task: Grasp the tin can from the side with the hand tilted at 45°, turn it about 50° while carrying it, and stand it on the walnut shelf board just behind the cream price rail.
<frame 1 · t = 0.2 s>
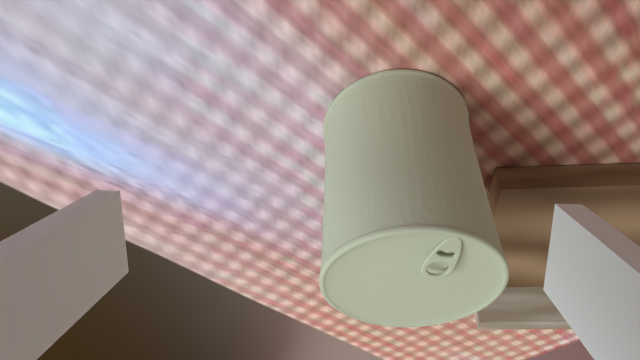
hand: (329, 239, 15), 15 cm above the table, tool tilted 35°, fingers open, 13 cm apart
can: (394, 125, 32), on the table
shelf: (610, 225, 38), on the table
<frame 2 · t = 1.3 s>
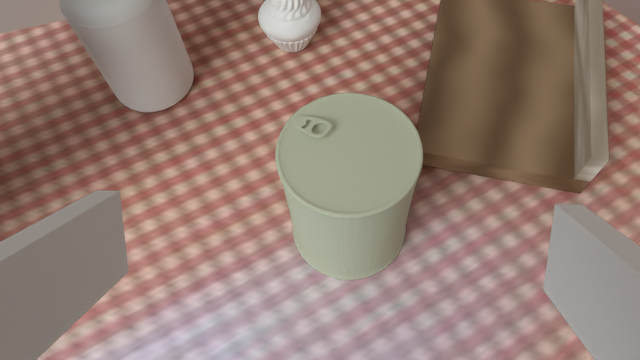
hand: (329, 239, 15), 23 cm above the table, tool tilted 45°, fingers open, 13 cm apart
can: (348, 226, 40), on the table
muffin: (293, 43, 51), on the table
pill bottle: (156, 84, 49), on the table
shelf: (501, 87, 46), on the table
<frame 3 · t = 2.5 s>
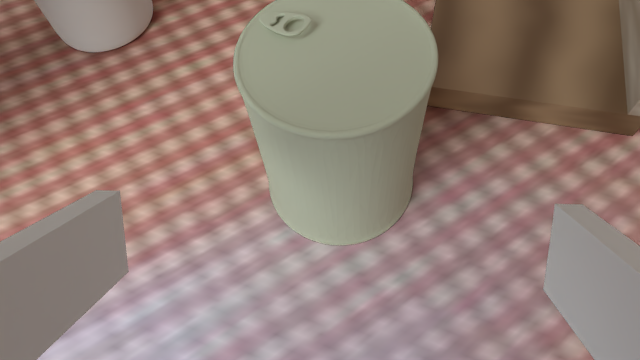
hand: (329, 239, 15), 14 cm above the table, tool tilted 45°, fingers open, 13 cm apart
can: (340, 181, 32), on the table
pill bottle: (109, 21, 41), on the table
shelf: (526, 16, 38), on the table
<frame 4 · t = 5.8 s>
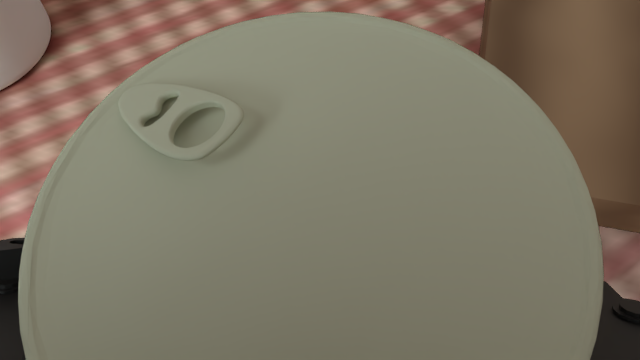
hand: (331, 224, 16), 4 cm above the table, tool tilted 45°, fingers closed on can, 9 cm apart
can: (331, 350, 18), on the table, touching gripper
shelf: (628, 49, 24), on the table
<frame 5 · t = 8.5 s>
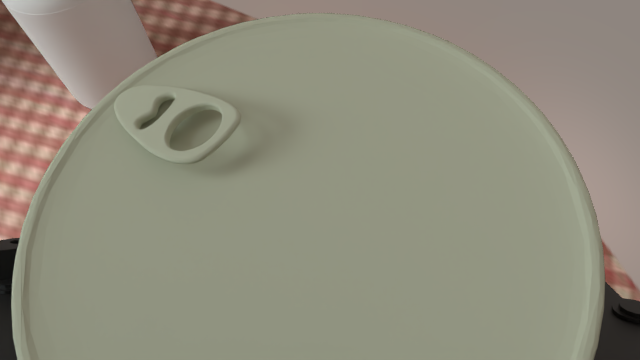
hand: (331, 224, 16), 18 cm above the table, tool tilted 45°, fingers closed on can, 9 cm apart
can: (330, 353, 18), point 14 cm above the table, touching gripper
pill bottle: (119, 80, 44), on the table
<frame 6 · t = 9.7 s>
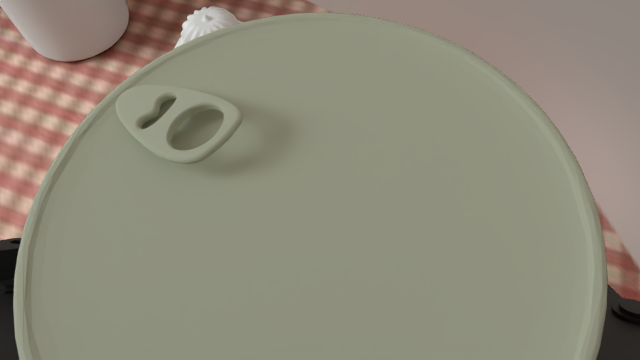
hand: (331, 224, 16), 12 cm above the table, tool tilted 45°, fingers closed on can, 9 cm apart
can: (331, 353, 18), point 8 cm above the table, touching gripper
muffin: (230, 94, 35), on the table
pill bottle: (84, 29, 39), on the table
when the fingers open (7 cm above the table, at t = 11.1 s): can stays where it is, resting on shelf.
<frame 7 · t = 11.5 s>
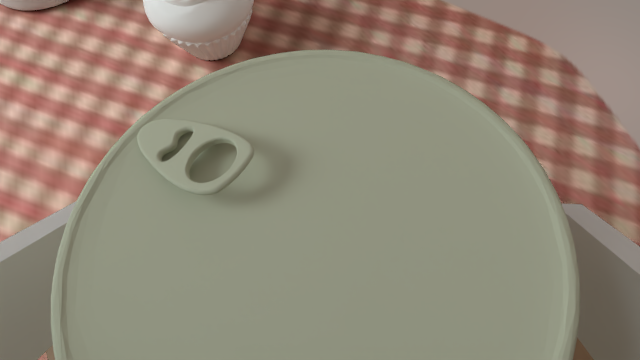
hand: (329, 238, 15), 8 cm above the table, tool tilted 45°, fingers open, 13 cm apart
can: (333, 358, 19), point 2 cm above the table, touching shelf
muffin: (215, 44, 30), on the table
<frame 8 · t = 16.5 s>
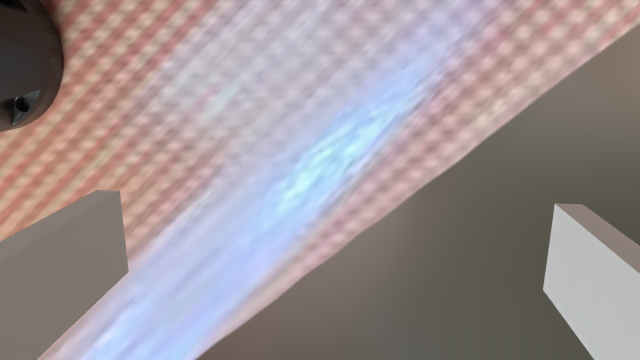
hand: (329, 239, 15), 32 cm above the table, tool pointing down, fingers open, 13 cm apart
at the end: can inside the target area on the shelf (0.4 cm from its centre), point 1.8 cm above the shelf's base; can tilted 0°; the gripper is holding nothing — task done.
